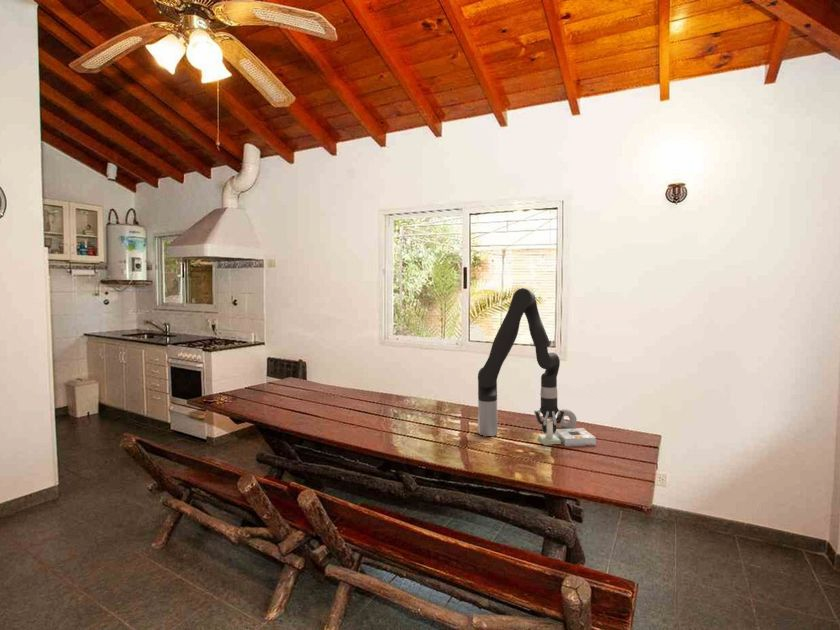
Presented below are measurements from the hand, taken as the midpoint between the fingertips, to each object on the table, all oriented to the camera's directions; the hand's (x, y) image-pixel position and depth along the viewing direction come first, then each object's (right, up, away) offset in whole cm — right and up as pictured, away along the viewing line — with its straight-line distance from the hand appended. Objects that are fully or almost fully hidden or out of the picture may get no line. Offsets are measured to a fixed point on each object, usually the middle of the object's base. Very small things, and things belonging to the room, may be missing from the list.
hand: (549, 432), depth 211 cm
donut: (+14, -3, +19) cm, 24 cm away
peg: (0, -2, 0) cm, 2 cm away
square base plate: (0, -4, 0) cm, 4 cm away
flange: (+12, -4, +1) cm, 13 cm away
